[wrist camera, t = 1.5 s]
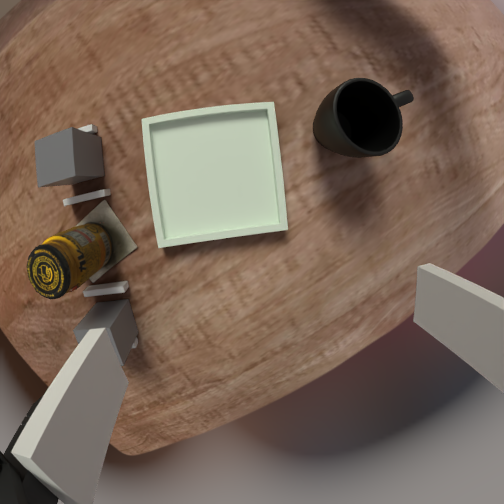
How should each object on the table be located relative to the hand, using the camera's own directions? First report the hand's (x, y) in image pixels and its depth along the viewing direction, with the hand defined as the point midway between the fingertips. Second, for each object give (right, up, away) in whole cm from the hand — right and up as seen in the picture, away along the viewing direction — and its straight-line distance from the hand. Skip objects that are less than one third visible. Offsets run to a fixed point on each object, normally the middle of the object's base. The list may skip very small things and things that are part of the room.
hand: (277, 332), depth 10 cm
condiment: (-20, +4, +22) cm, 30 cm away
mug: (+11, +19, +22) cm, 31 cm away
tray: (-5, +12, +22) cm, 25 cm away
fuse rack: (-20, +4, +22) cm, 30 cm away
